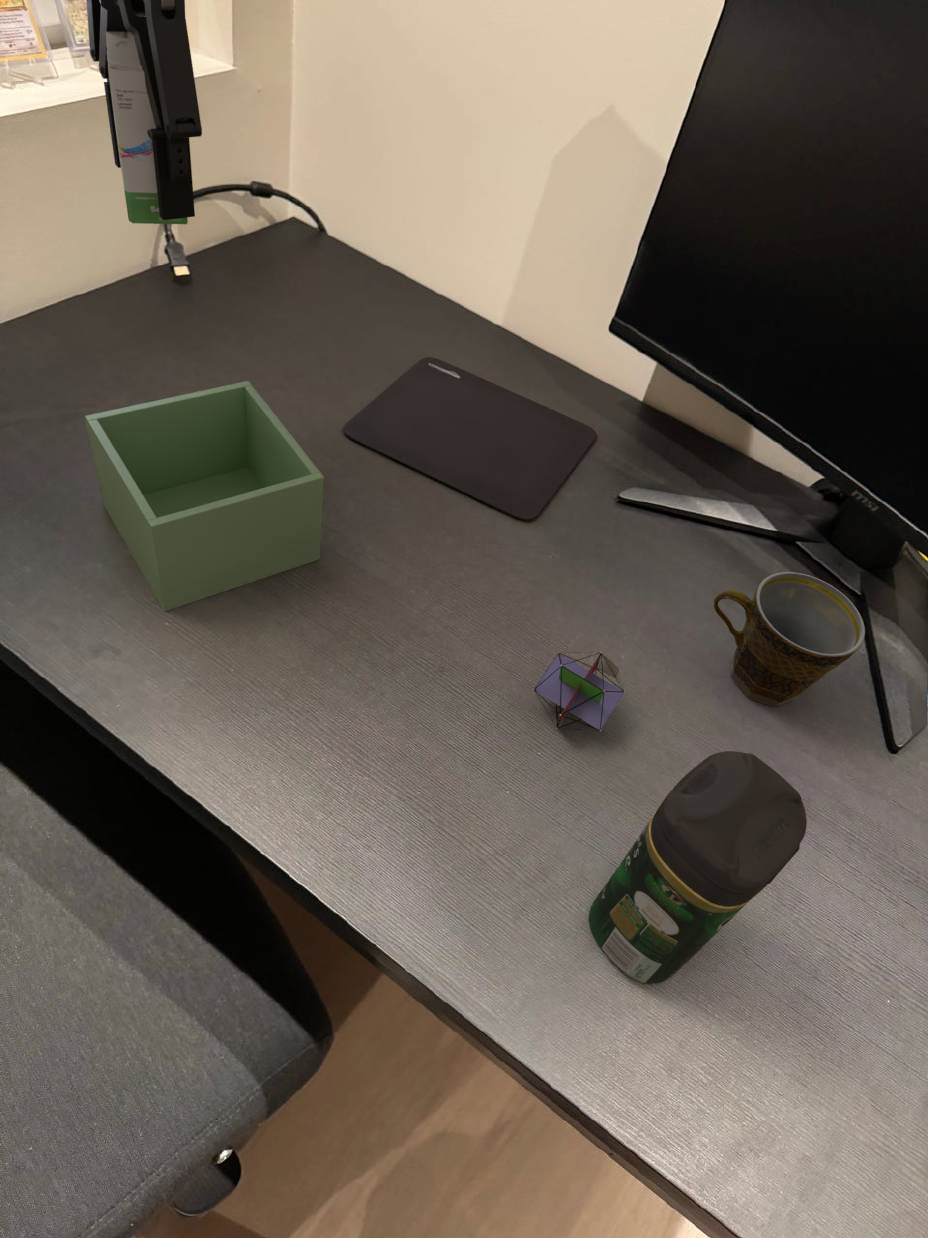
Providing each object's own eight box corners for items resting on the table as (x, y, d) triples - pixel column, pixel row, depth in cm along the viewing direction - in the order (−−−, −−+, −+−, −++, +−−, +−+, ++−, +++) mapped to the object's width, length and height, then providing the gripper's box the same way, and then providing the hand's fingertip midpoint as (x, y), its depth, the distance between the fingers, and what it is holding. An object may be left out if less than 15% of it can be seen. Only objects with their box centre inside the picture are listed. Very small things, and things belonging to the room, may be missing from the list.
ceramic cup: (812, 658, 85) (863, 592, 78) (811, 735, 79) (867, 671, 71) (689, 617, 86) (728, 548, 79) (678, 690, 80) (719, 622, 72)
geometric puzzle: (582, 759, 70) (630, 678, 68) (513, 715, 72) (558, 635, 70) (597, 741, 77) (641, 667, 75) (533, 702, 79) (575, 628, 77)
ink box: (189, 226, 72) (177, 69, 63) (127, 224, 70) (105, 63, 61) (181, 181, 77) (169, 30, 68) (123, 178, 75) (103, 24, 66)
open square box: (102, 503, 83) (84, 415, 75) (250, 464, 90) (248, 380, 82) (164, 611, 76) (151, 526, 68) (320, 559, 83) (324, 476, 75)
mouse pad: (600, 432, 104) (600, 430, 104) (531, 525, 91) (531, 523, 91) (427, 354, 109) (427, 353, 109) (336, 432, 96) (337, 430, 96)
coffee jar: (643, 846, 68) (737, 718, 54) (721, 921, 65) (841, 805, 51) (565, 923, 63) (647, 802, 49) (646, 1008, 60) (758, 905, 46)
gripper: (242, -107, 53) (251, 244, 69) (112, -190, 63) (147, 133, 80) (122, -116, 49) (162, 257, 66) (5, -202, 59) (65, 139, 76)
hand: (154, 189), depth 73 cm, fingers closed on ink box, 9 cm apart
